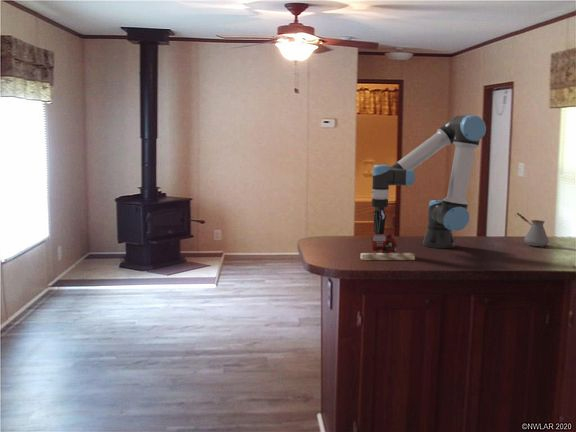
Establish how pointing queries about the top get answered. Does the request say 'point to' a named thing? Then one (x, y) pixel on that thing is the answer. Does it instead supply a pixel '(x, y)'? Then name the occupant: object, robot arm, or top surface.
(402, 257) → the beige long bar
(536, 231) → the coffee pot
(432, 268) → the top surface
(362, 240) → the top surface
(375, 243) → the toy fire truck
